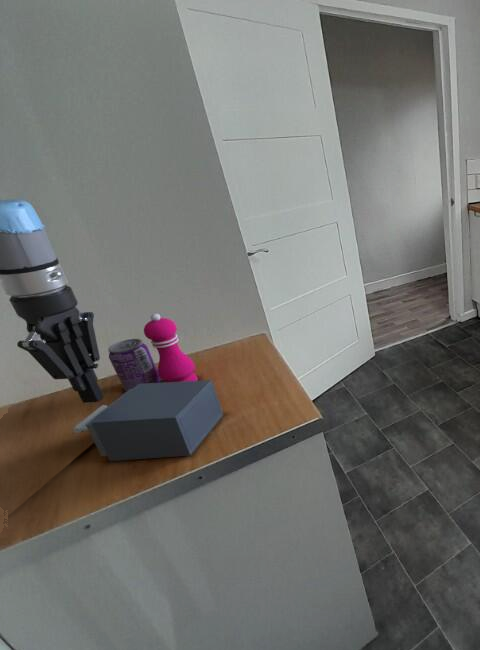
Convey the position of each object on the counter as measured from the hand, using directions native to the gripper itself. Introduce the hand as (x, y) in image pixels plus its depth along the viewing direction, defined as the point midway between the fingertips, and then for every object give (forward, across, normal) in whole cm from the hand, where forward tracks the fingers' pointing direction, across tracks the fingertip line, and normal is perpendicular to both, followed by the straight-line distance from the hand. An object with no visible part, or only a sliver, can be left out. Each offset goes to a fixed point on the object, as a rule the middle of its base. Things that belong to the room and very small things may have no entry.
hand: (93, 399), depth 81 cm
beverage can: (+10, +20, +7) cm, 24 cm away
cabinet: (+10, 0, -11) cm, 15 cm away
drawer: (+9, 0, -6) cm, 11 cm away
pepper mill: (+11, +20, -2) cm, 23 cm away
